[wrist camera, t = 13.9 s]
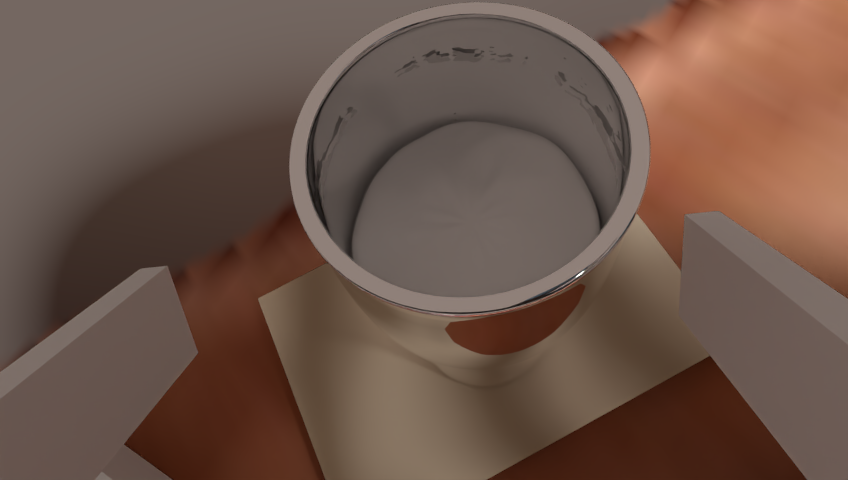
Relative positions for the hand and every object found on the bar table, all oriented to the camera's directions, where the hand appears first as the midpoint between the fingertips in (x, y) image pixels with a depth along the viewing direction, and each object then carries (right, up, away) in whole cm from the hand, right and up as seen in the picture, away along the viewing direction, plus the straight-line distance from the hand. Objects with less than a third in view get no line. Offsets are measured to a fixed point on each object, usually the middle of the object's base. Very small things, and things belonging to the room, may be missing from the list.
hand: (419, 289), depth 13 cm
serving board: (+3, -3, +11) cm, 12 cm away
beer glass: (+3, -2, +10) cm, 11 cm away
